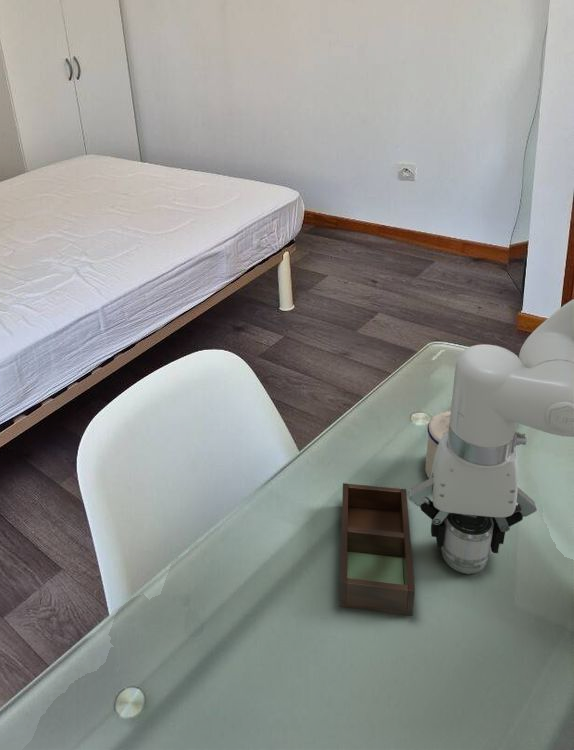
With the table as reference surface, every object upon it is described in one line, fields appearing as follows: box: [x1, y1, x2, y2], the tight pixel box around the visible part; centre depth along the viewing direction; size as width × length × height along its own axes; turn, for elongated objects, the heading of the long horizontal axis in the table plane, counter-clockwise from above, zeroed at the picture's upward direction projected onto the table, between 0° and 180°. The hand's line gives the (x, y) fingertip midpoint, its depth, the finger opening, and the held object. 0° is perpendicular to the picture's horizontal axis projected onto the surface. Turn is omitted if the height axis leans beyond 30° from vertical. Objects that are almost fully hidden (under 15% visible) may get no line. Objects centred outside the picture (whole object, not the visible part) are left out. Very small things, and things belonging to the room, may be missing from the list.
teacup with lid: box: [425, 410, 451, 479], centre depth 106 cm, size 12×9×12 cm
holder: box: [339, 482, 416, 616], centre depth 95 cm, size 9×17×4 cm, turn 168°
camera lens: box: [440, 513, 494, 575], centre depth 93 cm, size 6×6×8 cm
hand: (465, 540), depth 93 cm, fingers closed on camera lens, 6 cm apart
